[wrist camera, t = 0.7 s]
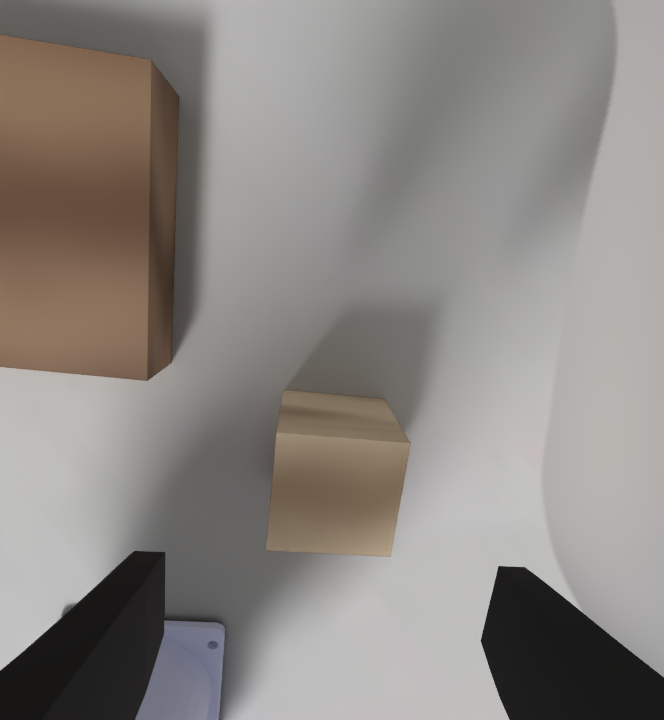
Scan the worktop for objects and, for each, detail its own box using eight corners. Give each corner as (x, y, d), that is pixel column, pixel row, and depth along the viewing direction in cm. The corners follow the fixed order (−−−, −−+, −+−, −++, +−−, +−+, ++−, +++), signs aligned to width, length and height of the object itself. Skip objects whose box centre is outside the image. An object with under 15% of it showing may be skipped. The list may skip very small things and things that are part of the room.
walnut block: (174, 360, 17) (147, 380, 14) (-78, 335, 16) (-164, 351, 13) (182, 100, 15) (151, 59, 12) (-112, 54, 14) (-226, -3, 11)
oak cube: (370, 487, 19) (390, 556, 14) (274, 481, 18) (265, 550, 14) (384, 398, 18) (410, 443, 13) (283, 389, 17) (276, 432, 13)
